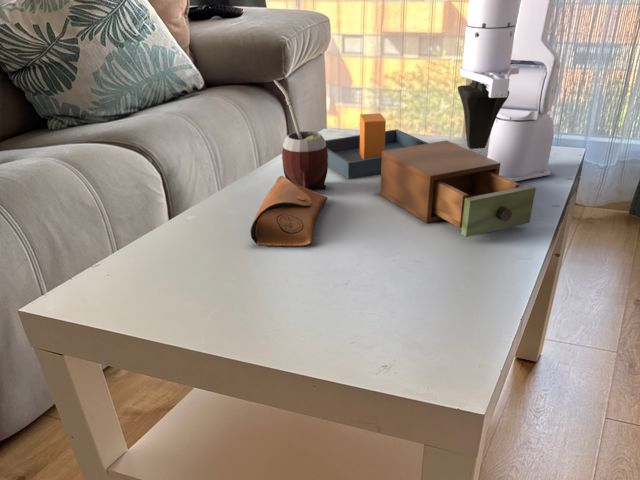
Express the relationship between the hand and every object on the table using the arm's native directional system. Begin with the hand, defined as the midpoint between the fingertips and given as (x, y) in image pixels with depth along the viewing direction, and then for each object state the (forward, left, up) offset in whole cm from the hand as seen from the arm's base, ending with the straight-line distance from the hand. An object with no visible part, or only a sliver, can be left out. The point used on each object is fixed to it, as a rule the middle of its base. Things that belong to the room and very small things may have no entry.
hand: (476, 147), depth 83 cm
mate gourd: (+15, -23, -10) cm, 29 cm away
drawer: (0, +2, -9) cm, 9 cm away
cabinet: (0, -8, -10) cm, 12 cm away
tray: (-2, -31, -10) cm, 32 cm away
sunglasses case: (+22, -11, -10) cm, 27 cm away
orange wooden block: (-1, -31, -9) cm, 32 cm away
